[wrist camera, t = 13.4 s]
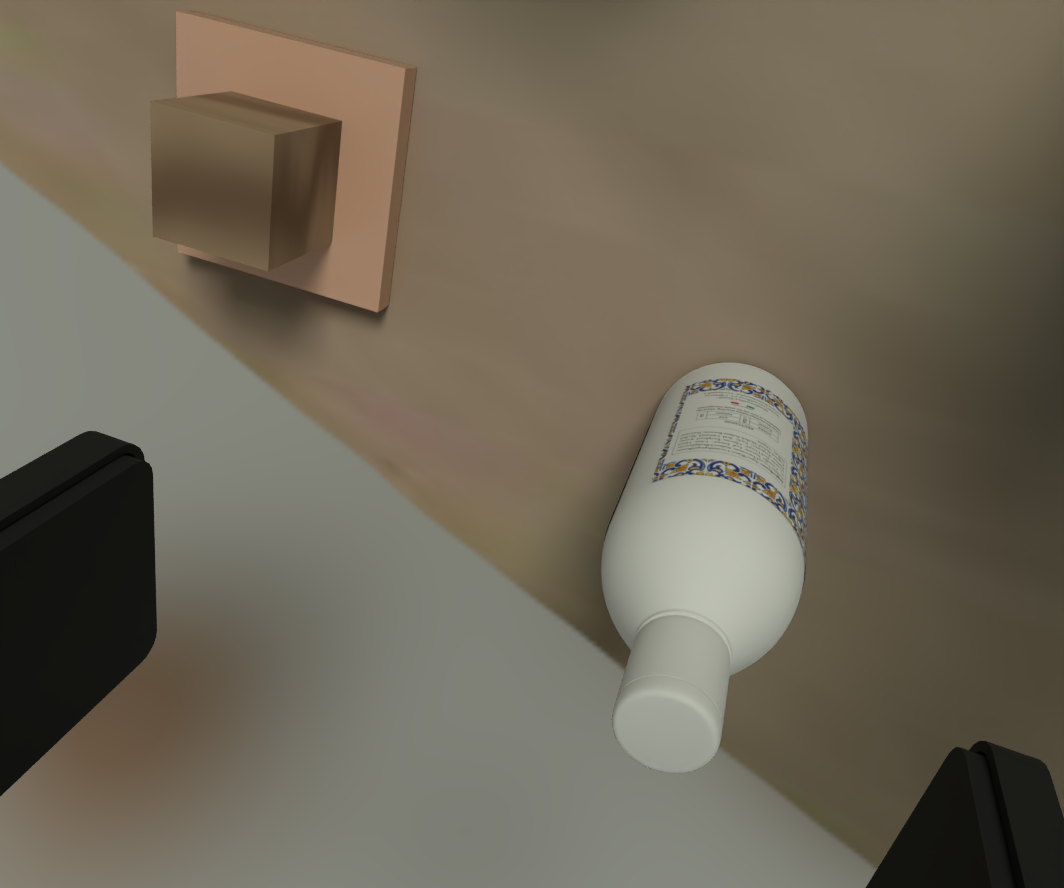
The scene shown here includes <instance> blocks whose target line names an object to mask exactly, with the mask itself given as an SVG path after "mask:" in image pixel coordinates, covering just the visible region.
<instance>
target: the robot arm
mask: <svg viewBox="0 0 1064 888" xmlns="http://www.w3.org/2000/svg"><path fill="white" fill-rule="evenodd" d="M155 580H156V579H155V538H154V499H153V472H152V468H151V466H150V464H149V463H147V462H145V460H144V454H143V452H142V451H141V449H140V448H139V447H137V446H136V445H134V444H131V443H128V442H125V441H122V440H119V439H117V438H114V437H111V436H108V435H105V434H102V433H99V432H96V431H88V432H85V433H82V434H80V435H78V436H76V437H75V438H73V439H71V440H69V441H67V442H66V443H64V444H62V445H60V446H59V447H57V448H55V449H53V450H51V451H49V452H48V453H46V454H44V455H42V456H41V457H39V458H37V459H35V460H34V461H32V462H30V463H28V464H26V465H25V466H23V467H21V468H19V469H18V470H16V471H14V472H12V473H10V474H9V475H7V476H5V477H3V478H1V479H0V796H1V795H2V794H3V793H4V792H5V791H6V790H7V789H9V788H10V787H11V786H12V785H13V784H14V783H15V782H16V781H17V780H18V779H19V778H20V777H21V776H22V775H23V774H24V773H25V772H26V771H28V770H29V768H31V767H32V766H33V765H34V764H35V763H36V762H37V761H38V760H39V759H40V758H41V757H42V756H43V755H44V754H45V753H46V752H48V751H49V749H51V748H52V747H53V746H54V745H55V744H56V743H57V742H58V741H59V740H60V739H61V738H62V737H63V736H64V735H65V734H66V733H67V732H69V731H70V730H71V729H72V728H73V727H74V726H75V725H76V724H77V723H78V722H79V721H80V720H81V719H82V718H83V717H84V716H85V715H86V714H87V713H89V712H90V711H91V710H92V709H93V708H94V707H95V706H96V705H97V704H98V703H99V702H100V701H101V700H102V699H103V698H104V697H105V696H106V695H107V694H109V692H111V691H112V690H113V689H114V688H115V687H116V686H117V685H118V684H119V683H120V682H121V681H122V680H123V679H124V678H125V677H126V676H127V675H129V674H130V673H131V672H132V671H133V670H134V669H135V668H136V667H137V666H138V665H139V664H140V663H141V662H142V661H143V660H144V659H145V658H146V657H147V655H148V653H149V652H150V650H151V648H152V646H153V644H154V641H155V638H156V633H157V618H156V581H155ZM866 888H1064V818H1063V814H1062V811H1061V808H1060V805H1059V801H1058V798H1057V795H1056V792H1055V788H1054V785H1053V782H1052V779H1051V775H1050V773H1049V771H1048V768H1047V766H1046V765H1045V764H1044V763H1043V762H1042V761H1041V760H1038V759H1036V758H1033V757H1030V756H1027V755H1024V754H1021V753H1018V752H1015V751H1013V750H1010V749H1007V748H1004V747H1001V746H998V745H995V744H992V743H990V742H987V741H979V742H977V743H975V744H974V745H973V746H972V747H971V749H970V750H966V749H963V748H959V747H956V748H954V749H953V750H952V751H951V752H950V753H949V754H948V756H947V757H946V759H945V761H944V762H943V764H942V765H941V767H940V769H939V770H938V772H937V774H936V775H935V777H934V778H933V780H932V782H931V783H930V785H929V786H928V788H927V790H926V791H925V793H924V795H923V796H922V798H921V799H920V801H919V803H918V804H917V806H916V807H915V809H914V811H913V812H912V814H911V816H910V817H909V819H908V820H907V822H906V824H905V825H904V827H903V828H902V830H901V832H900V833H899V835H898V837H897V838H896V840H895V841H894V843H893V845H892V846H891V848H890V849H889V851H888V853H887V854H886V856H885V858H884V859H883V861H882V862H881V864H880V866H879V867H878V869H877V870H876V872H875V874H874V875H873V877H872V879H871V880H870V882H869V883H868V885H867V887H866Z"/></svg>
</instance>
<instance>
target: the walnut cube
mask: <svg viewBox="0 0 1064 888" xmlns="http://www.w3.org/2000/svg"><path fill="white" fill-rule="evenodd" d="M150 107H151V160H152V212H153V237H157V238H160V239H163V240H167V241H170V242H173V243H176V244H180V245H183V246H186V247H190V248H193V249H196V250H199V251H203V252H206V253H209V254H213V255H216V256H219V257H222V258H226V259H229V260H232V261H235V262H239V263H242V264H245V265H249V266H252V267H255V268H258V269H262V270H265V271H270V270H272V269H274V268H277V267H279V266H281V265H283V264H285V263H288V262H290V261H292V260H294V259H296V258H298V257H301V256H303V255H305V254H307V253H309V252H312V251H314V250H316V249H318V248H320V247H322V246H325V245H327V244H329V243H331V242H332V238H333V226H334V214H335V202H336V190H337V178H338V166H339V154H340V143H341V131H342V121H341V120H337V119H333V118H330V117H326V116H322V115H318V114H315V113H311V112H307V111H304V110H300V109H296V108H292V107H289V106H285V105H281V104H278V103H274V102H270V101H266V100H263V99H259V98H255V97H252V96H248V95H244V94H240V93H237V92H233V91H229V92H221V93H213V94H204V95H196V96H188V97H180V98H172V99H164V100H155V101H150Z"/></svg>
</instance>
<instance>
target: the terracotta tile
mask: <svg viewBox="0 0 1064 888" xmlns="http://www.w3.org/2000/svg"><path fill="white" fill-rule="evenodd" d="M176 57H177V98H180V97H188V96H196V95H204V94H213V93H221V92H229V91H233V92H237V93H240V94H244V95H248V96H252V97H255V98H259V99H263V100H266V101H270V102H274V103H278V104H281V105H285V106H289V107H292V108H296V109H300V110H304V111H307V112H311V113H315V114H318V115H322V116H326V117H330V118H333V119H337V120H341V121H342V131H341V143H340V154H339V166H338V178H337V190H336V202H335V214H334V226H333V238H332V242H331V243H329V244H327V245H325V246H322V247H320V248H318V249H316V250H314V251H312V252H309V253H307V254H305V255H303V256H301V257H298V258H296V259H294V260H292V261H290V262H288V263H285V264H283V265H281V266H279V267H277V268H274V269H272V270H270V271H265V270H262V269H258V268H255V267H252V266H249V265H245V264H242V263H239V262H235V261H232V260H229V259H226V258H222V257H219V256H216V255H213V254H209V253H206V252H203V251H199V250H196V249H193V248H190V247H186V246H183V245H180V244H178V252H180V253H183V254H187V255H190V256H193V257H197V258H200V259H203V260H207V261H210V262H213V263H216V264H220V265H223V266H226V267H230V268H233V269H236V270H240V271H243V272H246V273H249V274H253V275H256V276H259V277H263V278H266V279H269V280H272V281H276V282H279V283H282V284H286V285H289V286H292V287H296V288H299V289H302V290H305V291H309V292H312V293H315V294H319V295H322V296H325V297H329V298H332V299H335V300H338V301H342V302H345V303H348V304H352V305H355V306H358V307H361V308H365V309H368V310H371V311H375V312H380V311H381V310H383V309H384V308H386V307H387V306H389V298H390V290H391V282H392V273H393V265H394V256H395V248H396V239H397V231H398V222H399V214H400V206H401V197H402V189H403V180H404V172H405V163H406V155H407V146H408V138H409V130H410V121H411V113H412V104H413V96H414V87H415V79H416V71H417V67H414V66H410V65H406V64H402V63H398V62H394V61H390V60H386V59H382V58H378V57H374V56H370V55H366V54H362V53H358V52H354V51H350V50H346V49H342V48H338V47H334V46H330V45H326V44H322V43H318V42H314V41H310V40H306V39H302V38H298V37H294V36H290V35H286V34H282V33H278V32H274V31H270V30H266V29H262V28H258V27H254V26H250V25H246V24H242V23H238V22H234V21H230V20H226V19H222V18H219V17H215V16H211V15H207V14H203V13H199V12H195V11H176Z"/></svg>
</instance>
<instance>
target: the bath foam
mask: <svg viewBox="0 0 1064 888" xmlns="http://www.w3.org/2000/svg"><path fill="white" fill-rule="evenodd" d="M651 422H652V423H651V425H650V426H649V427H650V428H649V429H648V431H647V433H646V436H645V438H644V441H643V443H642V446H641V448H640V450H639V453H638V455H637V458H636V460H635V462H634V465H633V467H632V470H631V472H630V474H629V477H628V479H627V482H626V484H625V486H624V489H623V491H622V494H621V496H620V499H619V501H618V503H617V506H616V508H615V511H614V513H613V515H612V518H611V520H610V523H609V525H608V528H607V531H606V535H605V540H604V546H603V552H602V562H601V578H602V588H603V594H604V598H605V602H606V606H607V609H608V611H609V614H610V617H611V619H612V621H613V623H614V625H615V627H616V629H617V631H618V632H619V634H620V636H621V637H622V639H623V640H624V642H625V643H626V644H627V646H628V647H629V648H630V650H631V653H630V656H629V659H628V662H627V666H626V669H625V672H624V676H623V679H622V683H621V686H620V690H619V693H618V696H617V699H616V703H615V706H614V710H613V716H612V726H613V731H614V734H615V737H616V739H617V741H618V743H619V744H620V746H621V747H622V749H623V750H624V751H625V752H626V753H627V754H628V755H629V756H630V757H631V758H633V759H634V760H636V761H637V762H639V763H640V764H642V765H644V766H646V767H648V768H651V769H653V770H656V771H660V772H665V773H686V772H690V771H694V770H697V769H699V768H701V767H703V766H704V765H706V764H707V763H708V762H709V761H710V760H711V759H712V758H713V757H714V755H715V754H716V752H717V750H718V747H719V744H720V740H721V734H722V727H723V719H724V712H725V705H726V697H727V690H728V682H729V676H731V675H733V674H735V673H737V672H739V671H741V670H743V669H745V668H747V667H748V666H750V665H751V664H753V663H754V662H756V661H757V660H759V659H760V658H761V657H762V656H764V655H765V654H766V653H767V652H768V651H769V650H770V649H771V648H772V647H773V646H774V645H775V644H776V643H777V641H778V640H779V639H780V638H781V636H782V635H783V634H784V632H785V630H786V629H787V627H788V625H789V623H790V622H791V620H792V618H793V615H794V613H795V611H796V608H797V606H798V603H799V599H800V596H801V592H802V588H803V584H804V579H805V563H806V521H807V479H808V428H807V422H806V418H805V414H804V411H803V409H802V407H801V405H800V403H799V401H798V399H797V398H796V397H795V395H794V394H793V393H792V392H791V391H790V389H789V388H788V387H787V386H786V385H784V384H783V383H782V382H781V381H780V380H779V379H778V378H776V377H775V376H773V375H772V374H770V373H768V372H766V371H764V370H762V369H760V368H757V367H754V366H751V365H747V364H741V363H717V364H711V365H707V366H703V367H701V368H698V369H696V370H693V371H691V372H690V373H688V374H686V375H685V376H683V377H682V378H680V379H679V380H678V381H677V382H676V383H674V384H673V385H672V387H671V388H670V389H669V390H668V391H667V393H666V394H665V395H664V397H663V399H662V400H661V402H660V404H659V406H658V409H657V411H656V413H655V416H654V418H653V420H652V421H651Z"/></svg>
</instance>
